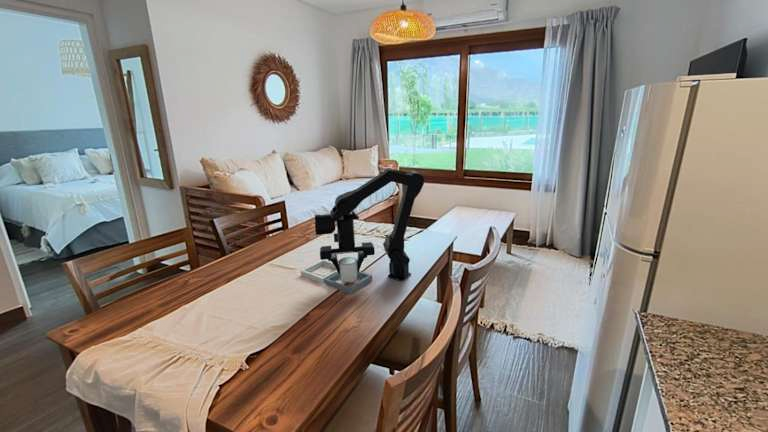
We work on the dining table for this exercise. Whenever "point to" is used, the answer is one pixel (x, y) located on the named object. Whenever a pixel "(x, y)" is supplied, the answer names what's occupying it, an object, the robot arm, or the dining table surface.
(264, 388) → the dining table surface
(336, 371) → the dining table surface
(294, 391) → the dining table surface
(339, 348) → the dining table surface
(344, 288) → the tray
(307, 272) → the tray
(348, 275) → the shot glass
